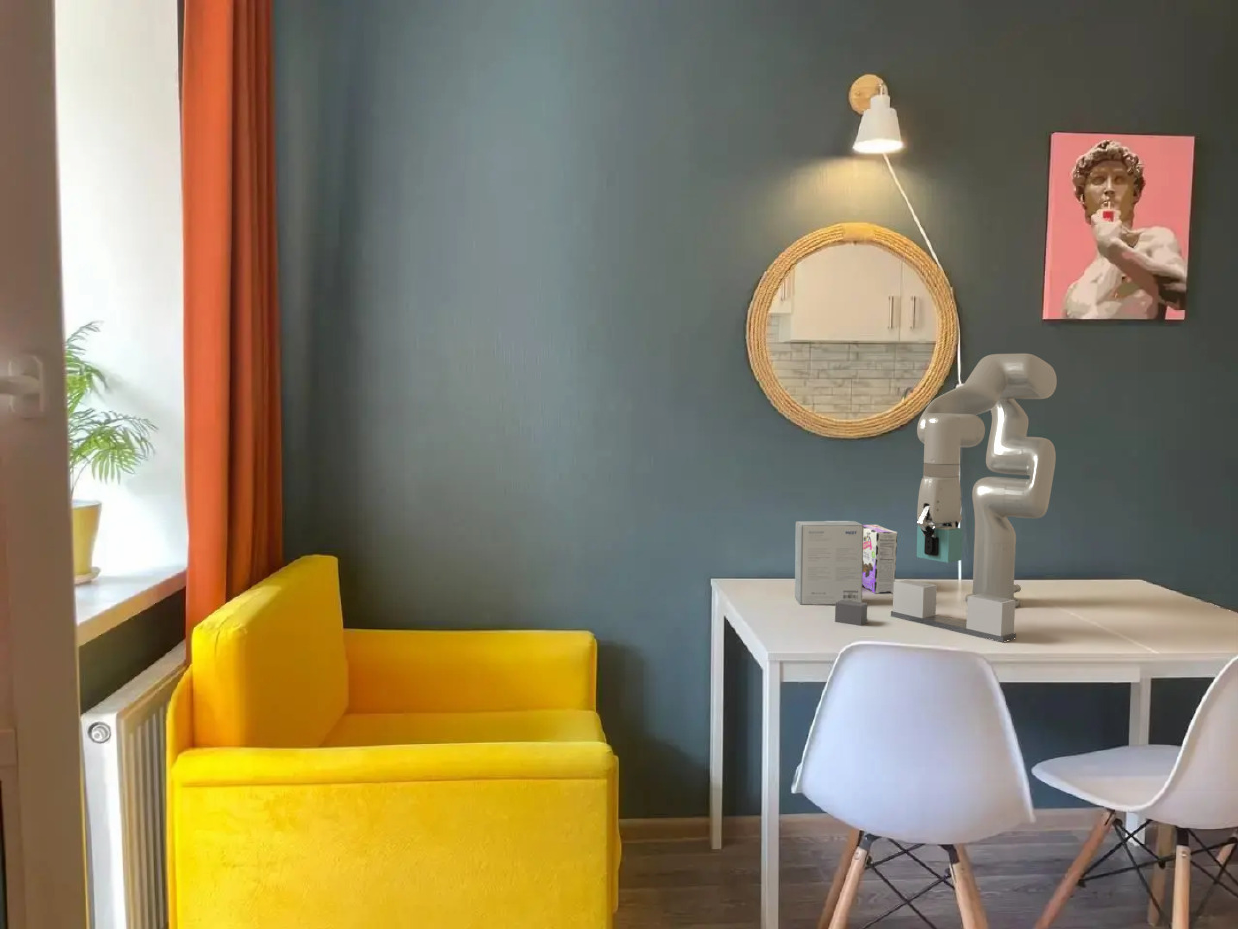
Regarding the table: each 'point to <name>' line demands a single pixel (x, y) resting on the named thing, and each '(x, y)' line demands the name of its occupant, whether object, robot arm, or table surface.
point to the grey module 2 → (990, 614)
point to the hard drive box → (828, 562)
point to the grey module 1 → (914, 598)
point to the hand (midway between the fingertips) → (939, 552)
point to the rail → (952, 626)
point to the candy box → (879, 558)
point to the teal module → (943, 544)
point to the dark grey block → (851, 612)
